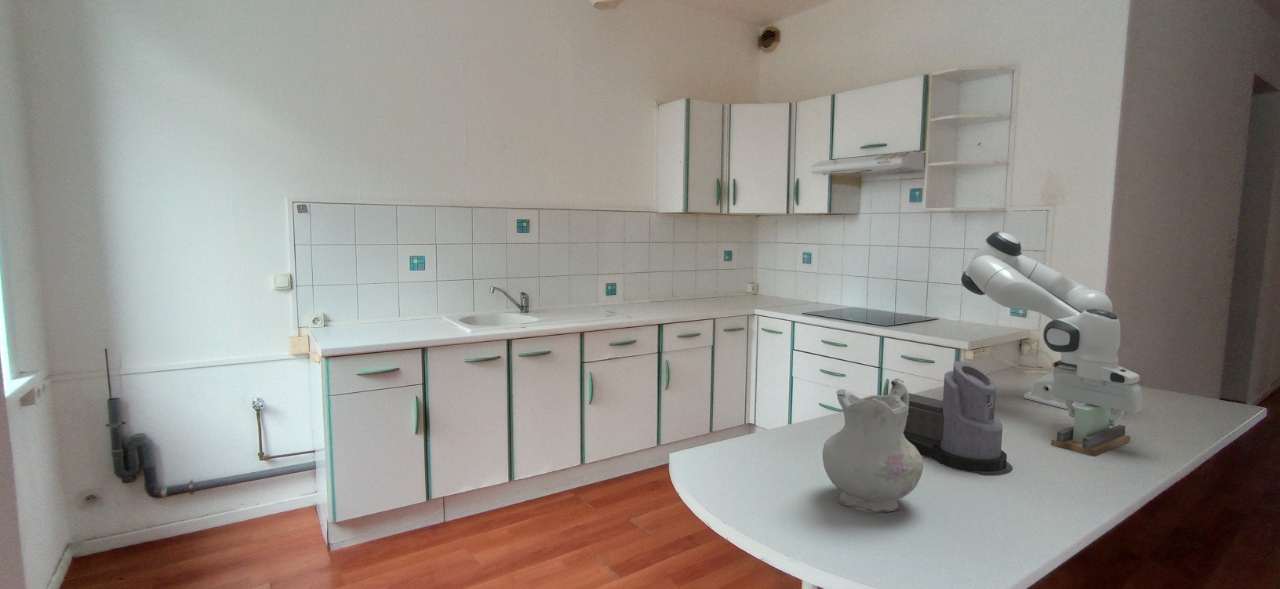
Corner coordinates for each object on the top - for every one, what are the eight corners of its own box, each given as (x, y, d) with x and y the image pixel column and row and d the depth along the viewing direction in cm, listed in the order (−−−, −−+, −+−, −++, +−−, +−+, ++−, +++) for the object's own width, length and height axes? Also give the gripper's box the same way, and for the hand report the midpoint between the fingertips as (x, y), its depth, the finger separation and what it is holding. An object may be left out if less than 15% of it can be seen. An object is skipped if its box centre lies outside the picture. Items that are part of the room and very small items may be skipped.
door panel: (1072, 440, 167) (1075, 407, 166) (1096, 432, 174) (1098, 400, 173) (1085, 443, 164) (1088, 410, 163) (1108, 435, 172) (1111, 402, 171)
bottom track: (1050, 444, 168) (1052, 430, 167) (1088, 431, 179) (1089, 418, 179) (1093, 456, 159) (1095, 440, 159) (1129, 441, 171) (1131, 427, 171)
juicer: (1024, 466, 152) (1031, 367, 150) (992, 480, 143) (1000, 375, 140) (908, 433, 176) (913, 347, 174) (875, 444, 167) (879, 353, 164)
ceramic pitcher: (849, 478, 146) (845, 372, 144) (939, 494, 133) (935, 378, 132) (809, 509, 129) (804, 389, 128) (908, 531, 117) (903, 399, 115)
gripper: (1048, 364, 174) (1045, 413, 176) (1137, 379, 157) (1132, 433, 159) (1059, 362, 178) (1055, 410, 179) (1147, 376, 161) (1142, 429, 162)
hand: (1092, 421), depth 169 cm, fingers open, 8 cm apart
